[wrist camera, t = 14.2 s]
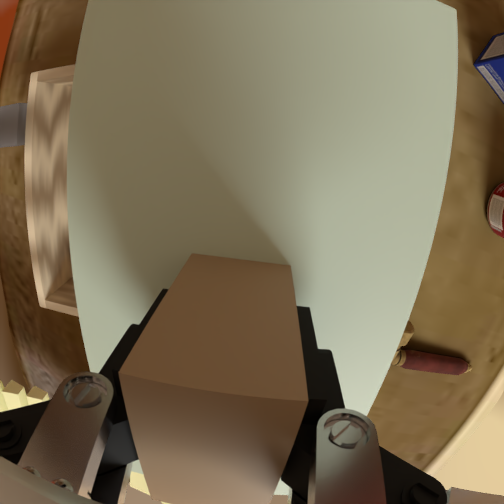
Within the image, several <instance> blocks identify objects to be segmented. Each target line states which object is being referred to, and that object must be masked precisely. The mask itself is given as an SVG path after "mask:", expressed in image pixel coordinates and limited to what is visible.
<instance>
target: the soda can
mask: <svg viewBox="0 0 504 504" xmlns="http://www.w3.org/2000/svg"><path fill="white" fill-rule="evenodd" d="M487 219H488V223H489V226H490V228H491V229H492V231H493V232H494V233H496V234H497V235H499V236H501V237H503V238H504V182H503V183H501V184H499V185H498V186H497V187H496V188H495V189H494V190H493V192H492V194H491V196H490V198H489V201H488V206H487Z"/></svg>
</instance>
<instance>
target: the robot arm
mask: <svg viewBox="0 0 504 504" xmlns="http://www.w3.org/2000/svg"><path fill="white" fill-rule="evenodd" d="M168 290H169V289H164V288H163V289H162V291H161V292H160V294H159V295H158V297H157V298H156V300H155V301H154V303H153V304H152V306H151V307H150V309H149V310H148V312H147V313H146V315H145V316H144V318H143V319H142V321H141V323H140V324H139V325H138V324H131V325H130V326H129V328H128V329H127V331H126V332H125V334H124V335H123V337H122V338H121V340H120V341H119V343H118V344H117V346H116V347H115V349H114V350H113V352H112V353H111V355H110V356H109V358H108V359H107V361H106V362H105V364H104V366H103V367H102V369H101V370H100V372H99V373H95V372H87V371H86V372H78V373H75V374H72V375H70V376H68V377H67V378H65V379H64V380H63V381H62V382H61V384H60V385H59V387H58V388H57V390H56V392H55V394H54V395H53V397H52V399H51V400H47V401H44V402H40V403H36V404H32V405H28V406H24V407H20V408H16V409H12V410H7V411H3V412H0V504H124V501H125V496H126V492H127V487H128V483H129V478H130V474H131V470H132V463H133V462H134V461H136V460H139V458H138V454H137V451H136V447H135V444H134V440H133V436H132V432H131V428H130V424H129V420H128V416H127V411H126V407H125V402H124V398H123V393H122V388H121V383H120V378H119V373H118V372H119V371H120V369H121V367H122V366H123V364H124V362H125V360H126V359H127V357H128V355H129V354H130V352H131V350H132V349H133V347H134V345H135V344H136V342H137V340H138V339H139V337H140V335H141V334H142V332H143V330H144V329H145V327H146V325H147V324H148V322H149V320H150V319H151V317H152V315H153V314H154V312H155V311H156V309H157V307H158V306H159V304H160V303H161V301H162V299H163V298H164V296H165V295H166V293H167V291H168ZM297 313H298V320H299V328H300V335H301V343H302V351H303V359H304V367H305V375H306V384H307V392H308V404H307V407H306V410H305V413H304V416H303V419H302V422H301V424H300V427H299V430H298V433H297V436H296V438H295V441H294V444H293V447H292V449H291V452H290V455H289V457H288V460H287V462H286V465H285V468H284V470H283V473H282V475H281V481H283V482H284V483H285V484H286V485H288V486H289V487H290V488H289V495H288V504H504V496H501V495H494V494H487V493H481V492H475V491H469V490H464V489H459V488H454V487H451V488H450V489H449V490H445V488H444V487H443V486H442V484H441V483H440V482H439V481H438V480H436V479H435V478H434V477H432V476H430V475H428V474H426V473H425V472H423V471H421V470H419V469H417V468H416V467H414V466H412V465H410V464H409V463H407V462H405V461H404V460H402V459H400V458H399V457H397V456H395V455H394V454H392V453H390V452H389V451H387V450H385V449H384V448H382V447H380V446H379V443H378V436H377V431H376V428H375V425H374V424H373V423H372V421H371V420H370V419H369V418H368V417H366V416H365V415H364V414H362V413H360V412H358V411H355V410H351V409H345V405H344V400H343V396H342V392H341V387H340V383H339V379H338V374H337V370H336V366H335V362H334V358H333V354H332V351H331V350H329V349H318V346H317V341H316V336H315V331H314V326H313V321H312V316H311V311H310V307H304V306H297Z"/></svg>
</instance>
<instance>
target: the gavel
mask: <svg viewBox="0 0 504 504" xmlns="http://www.w3.org/2000/svg"><path fill="white" fill-rule="evenodd" d="M414 331H415V330H414V327H413V325H412V324H411V322H410V321H409V320H408V322H407V325H406V327H405V330H404V333H403V335H402V338H401V340H400V343H399V345H398V348H397V350H396V353H395V355H394V358H393V360H392V362H391V365H396V366H400V367H403V368H405V369H412V370H419V371H427V372H435V373H443V374H452V375H460V374H462V373H466V372H467V371H471V370H472V366H471V365H469V364H468V363H467V362H465V361H464V360H463V359H461V358H455V357H449V356H443V355H437V354H432V353H426V352H420V351H415V350H401V346H405V345H406V344H407V343H408V341H409V340H410V338H411V336H412V335H413V333H414Z"/></svg>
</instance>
